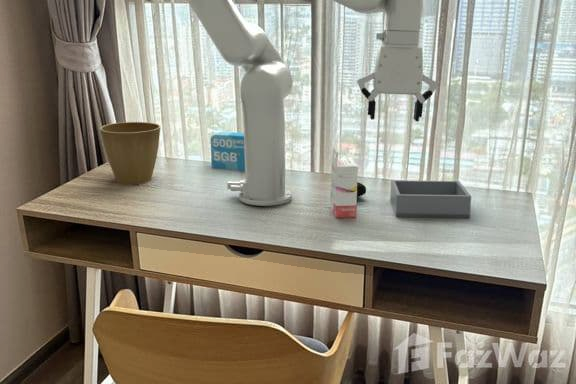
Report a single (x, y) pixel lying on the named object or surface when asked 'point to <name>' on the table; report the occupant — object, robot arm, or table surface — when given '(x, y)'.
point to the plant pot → (131, 150)
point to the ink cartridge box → (343, 186)
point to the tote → (430, 199)
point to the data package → (228, 151)
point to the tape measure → (360, 189)
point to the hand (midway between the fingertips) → (394, 119)
